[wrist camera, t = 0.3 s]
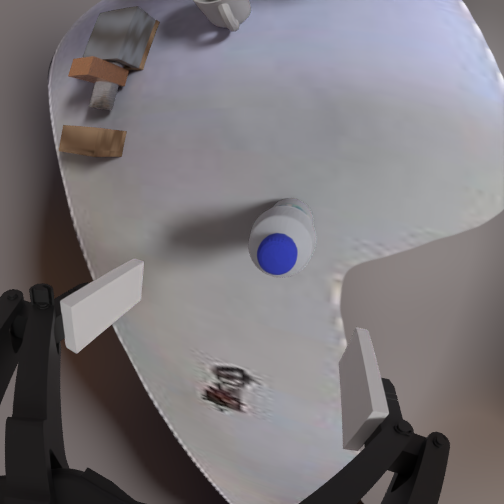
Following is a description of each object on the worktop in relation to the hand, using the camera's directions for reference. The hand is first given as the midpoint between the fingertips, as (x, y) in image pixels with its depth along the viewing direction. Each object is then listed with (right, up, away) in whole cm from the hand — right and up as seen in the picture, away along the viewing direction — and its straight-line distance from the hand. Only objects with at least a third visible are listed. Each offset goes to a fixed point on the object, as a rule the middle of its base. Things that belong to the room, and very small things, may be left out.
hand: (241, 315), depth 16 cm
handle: (-22, +37, +22) cm, 48 cm away
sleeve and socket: (-23, +33, +25) cm, 47 cm away
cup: (-2, +41, +18) cm, 45 cm away
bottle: (+6, +8, +26) cm, 28 cm away
